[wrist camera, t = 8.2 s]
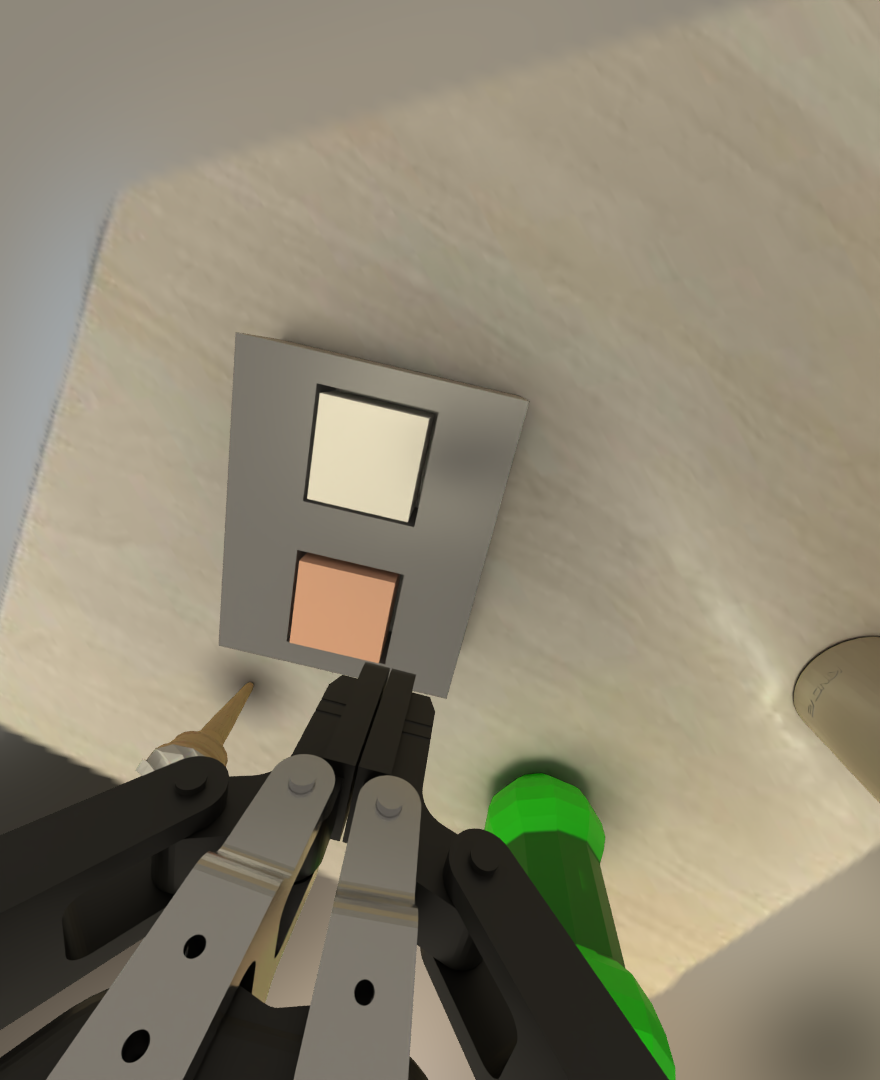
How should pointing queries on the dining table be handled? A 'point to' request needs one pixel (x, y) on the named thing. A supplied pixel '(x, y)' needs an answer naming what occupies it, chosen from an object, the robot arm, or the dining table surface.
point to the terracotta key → (343, 607)
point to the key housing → (354, 536)
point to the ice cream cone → (200, 738)
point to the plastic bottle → (574, 886)
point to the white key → (368, 455)
